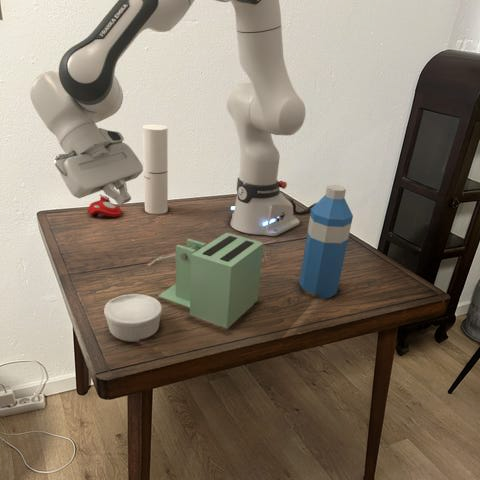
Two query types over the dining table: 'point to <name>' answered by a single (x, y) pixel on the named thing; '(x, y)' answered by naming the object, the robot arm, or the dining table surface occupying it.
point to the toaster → (225, 279)
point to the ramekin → (133, 316)
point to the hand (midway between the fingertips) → (125, 202)
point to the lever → (167, 258)
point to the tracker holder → (104, 208)
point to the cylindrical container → (155, 168)
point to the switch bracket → (182, 275)
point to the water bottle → (326, 243)
